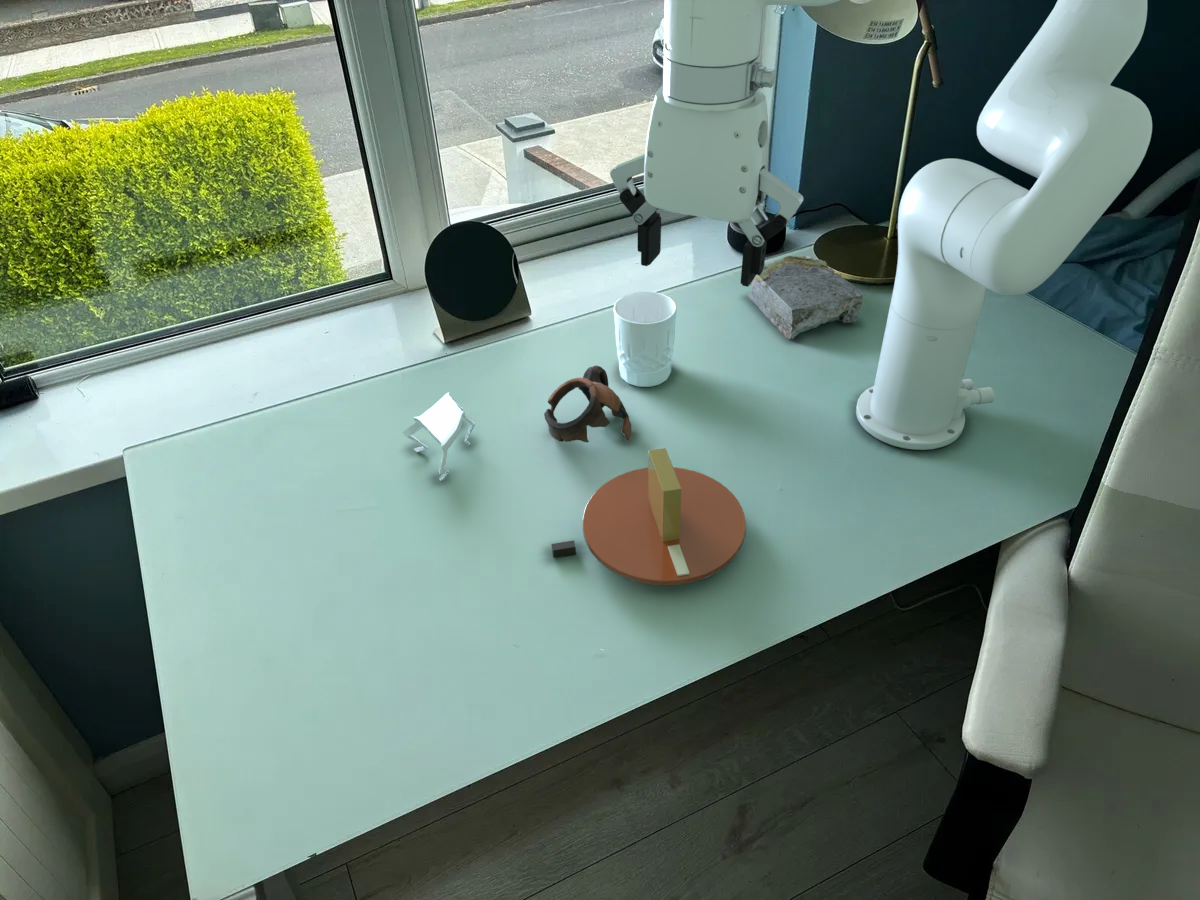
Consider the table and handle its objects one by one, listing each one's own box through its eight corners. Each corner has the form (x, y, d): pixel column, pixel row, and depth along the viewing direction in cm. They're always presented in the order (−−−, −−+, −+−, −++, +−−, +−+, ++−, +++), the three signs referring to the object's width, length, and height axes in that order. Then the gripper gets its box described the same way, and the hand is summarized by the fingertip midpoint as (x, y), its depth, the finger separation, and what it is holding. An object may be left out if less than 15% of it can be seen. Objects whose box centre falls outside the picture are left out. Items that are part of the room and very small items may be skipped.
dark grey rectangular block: (696, 498, 100) (696, 487, 99) (722, 563, 92) (723, 552, 91) (545, 522, 98) (544, 511, 97) (560, 590, 90) (559, 579, 89)
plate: (718, 461, 102) (722, 406, 97) (768, 569, 89) (775, 513, 84) (570, 483, 100) (566, 429, 95) (599, 598, 87) (596, 542, 82)
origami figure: (401, 434, 111) (394, 402, 107) (467, 418, 113) (462, 386, 109) (420, 495, 102) (413, 462, 99) (491, 477, 104) (487, 444, 101)
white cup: (685, 366, 120) (687, 300, 113) (656, 397, 115) (656, 330, 108) (634, 350, 123) (634, 285, 117) (603, 379, 118) (601, 313, 112)
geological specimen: (796, 314, 119) (743, 259, 130) (792, 350, 124) (740, 295, 134) (866, 294, 122) (808, 242, 132) (859, 331, 126) (804, 278, 137)
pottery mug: (636, 459, 106) (601, 421, 100) (568, 478, 110) (531, 442, 105) (640, 380, 113) (607, 341, 107) (576, 401, 117) (541, 363, 112)
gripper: (828, 76, 72) (802, 269, 83) (629, 53, 78) (629, 236, 89) (802, 106, 67) (778, 307, 78) (592, 79, 72) (597, 270, 83)
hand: (699, 269), depth 83 cm, fingers open, 9 cm apart
